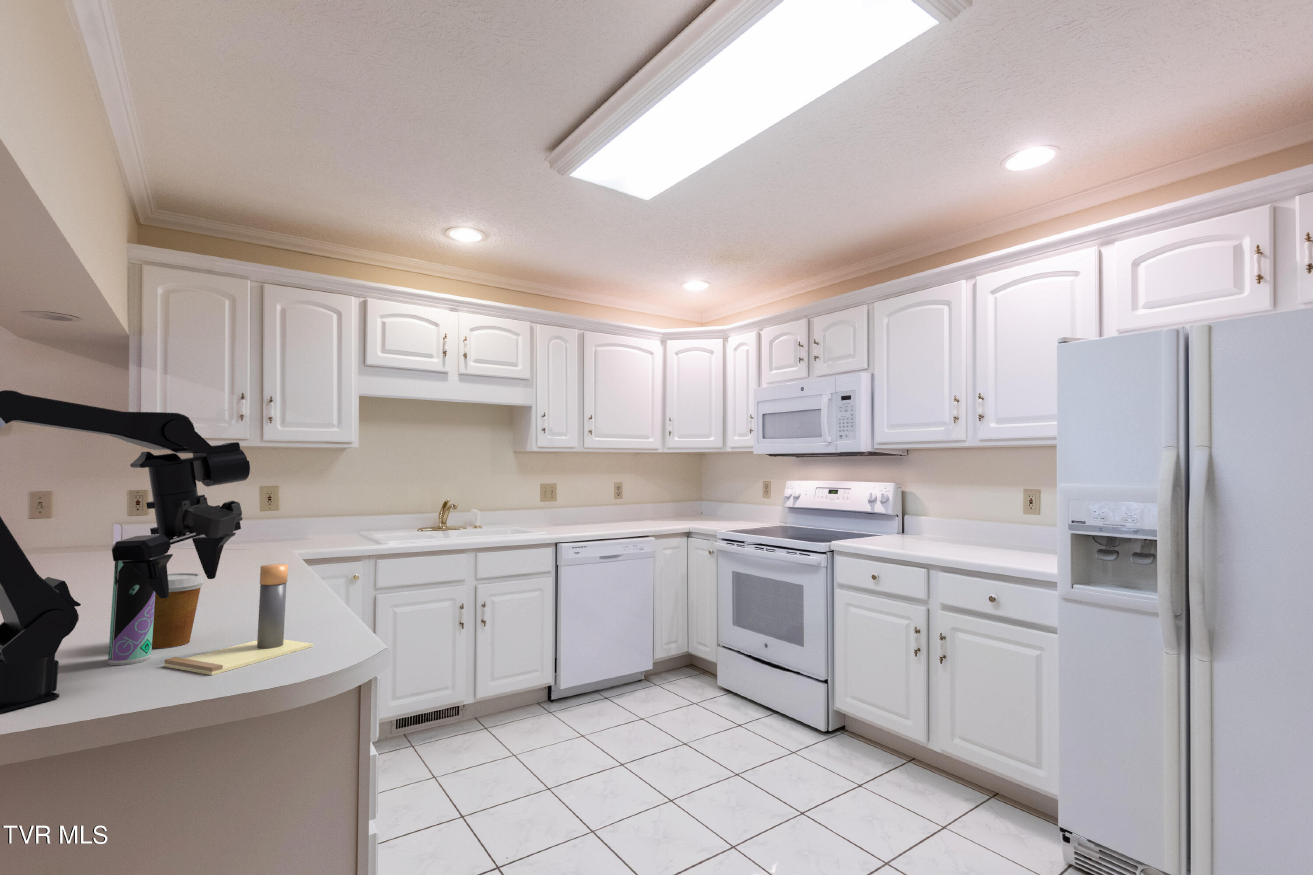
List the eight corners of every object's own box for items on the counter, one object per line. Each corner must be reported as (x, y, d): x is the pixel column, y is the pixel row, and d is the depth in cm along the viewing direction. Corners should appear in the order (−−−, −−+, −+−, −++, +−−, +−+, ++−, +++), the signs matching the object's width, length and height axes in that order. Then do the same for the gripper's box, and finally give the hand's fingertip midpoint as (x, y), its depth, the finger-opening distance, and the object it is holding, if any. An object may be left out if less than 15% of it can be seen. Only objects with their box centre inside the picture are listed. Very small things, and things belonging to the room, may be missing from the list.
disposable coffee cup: (184, 649, 111) (189, 580, 111) (121, 652, 109) (126, 581, 109) (210, 636, 120) (214, 572, 121) (152, 638, 118) (156, 572, 119)
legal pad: (212, 675, 97) (212, 667, 97) (164, 666, 101) (164, 659, 101) (312, 646, 114) (313, 640, 114) (268, 639, 118) (268, 633, 118)
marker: (273, 649, 110) (277, 567, 111) (250, 648, 110) (254, 566, 111) (289, 643, 114) (293, 564, 115) (267, 642, 114) (271, 563, 115)
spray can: (126, 666, 101) (134, 539, 102) (98, 663, 102) (107, 538, 103) (159, 656, 106) (167, 536, 107) (133, 654, 107) (140, 535, 108)
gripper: (172, 501, 91) (187, 607, 92) (264, 479, 109) (275, 568, 110) (101, 505, 92) (117, 610, 93) (203, 483, 110) (216, 570, 112)
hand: (189, 587), depth 102 cm, fingers open, 9 cm apart
